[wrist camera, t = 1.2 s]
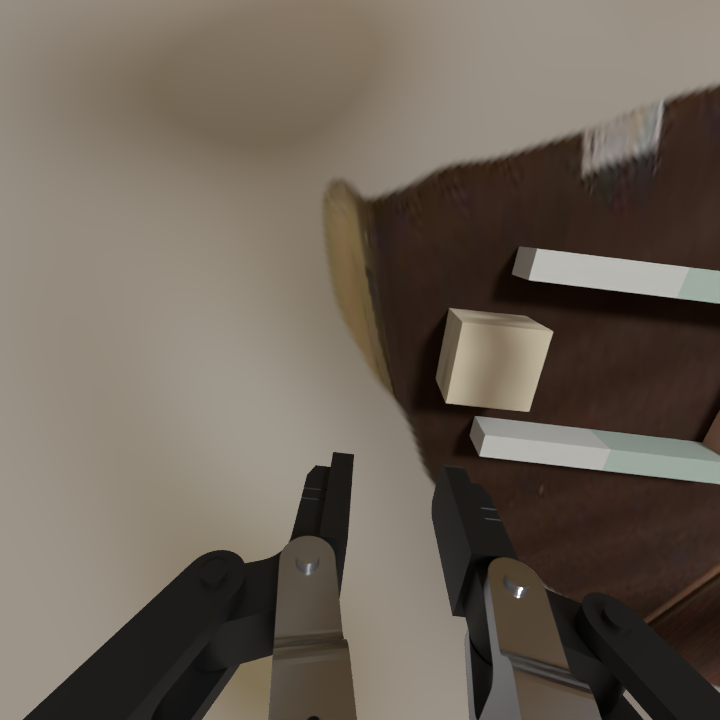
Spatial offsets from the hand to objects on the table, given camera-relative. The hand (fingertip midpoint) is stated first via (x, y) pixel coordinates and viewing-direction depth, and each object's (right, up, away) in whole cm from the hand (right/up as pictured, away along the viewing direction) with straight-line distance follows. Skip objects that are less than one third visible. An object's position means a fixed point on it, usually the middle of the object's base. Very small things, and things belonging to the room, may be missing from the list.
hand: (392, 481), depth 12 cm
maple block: (+8, +5, +16) cm, 19 cm away
